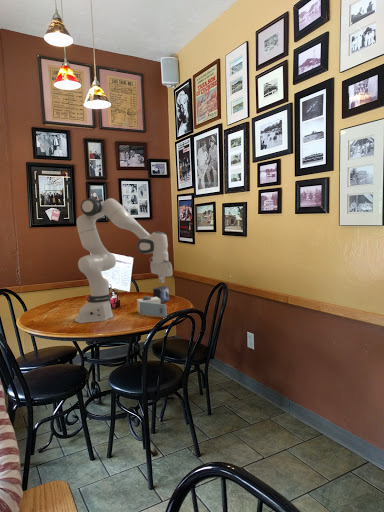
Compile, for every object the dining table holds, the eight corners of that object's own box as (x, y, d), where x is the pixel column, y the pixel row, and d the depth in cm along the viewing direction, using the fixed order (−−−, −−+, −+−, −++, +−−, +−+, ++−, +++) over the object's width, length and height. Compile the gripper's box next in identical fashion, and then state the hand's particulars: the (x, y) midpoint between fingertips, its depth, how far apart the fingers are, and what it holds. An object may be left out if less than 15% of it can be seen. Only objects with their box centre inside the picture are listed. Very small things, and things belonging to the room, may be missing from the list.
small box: (160, 304, 245) (159, 289, 244) (153, 303, 249) (152, 288, 248) (169, 301, 254) (169, 286, 253) (162, 300, 258) (161, 285, 257)
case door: (139, 314, 218) (138, 302, 217) (141, 313, 220) (140, 301, 219) (164, 318, 208) (164, 305, 207) (166, 317, 209) (166, 304, 209)
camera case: (141, 314, 220) (140, 299, 219) (137, 311, 227) (136, 296, 226) (161, 311, 225) (160, 296, 224) (157, 308, 232) (156, 294, 231)
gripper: (174, 260, 202) (175, 284, 203) (157, 257, 219) (158, 279, 220) (165, 261, 198) (166, 285, 200) (148, 258, 215) (149, 281, 217)
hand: (162, 282), depth 210 cm, fingers closed
